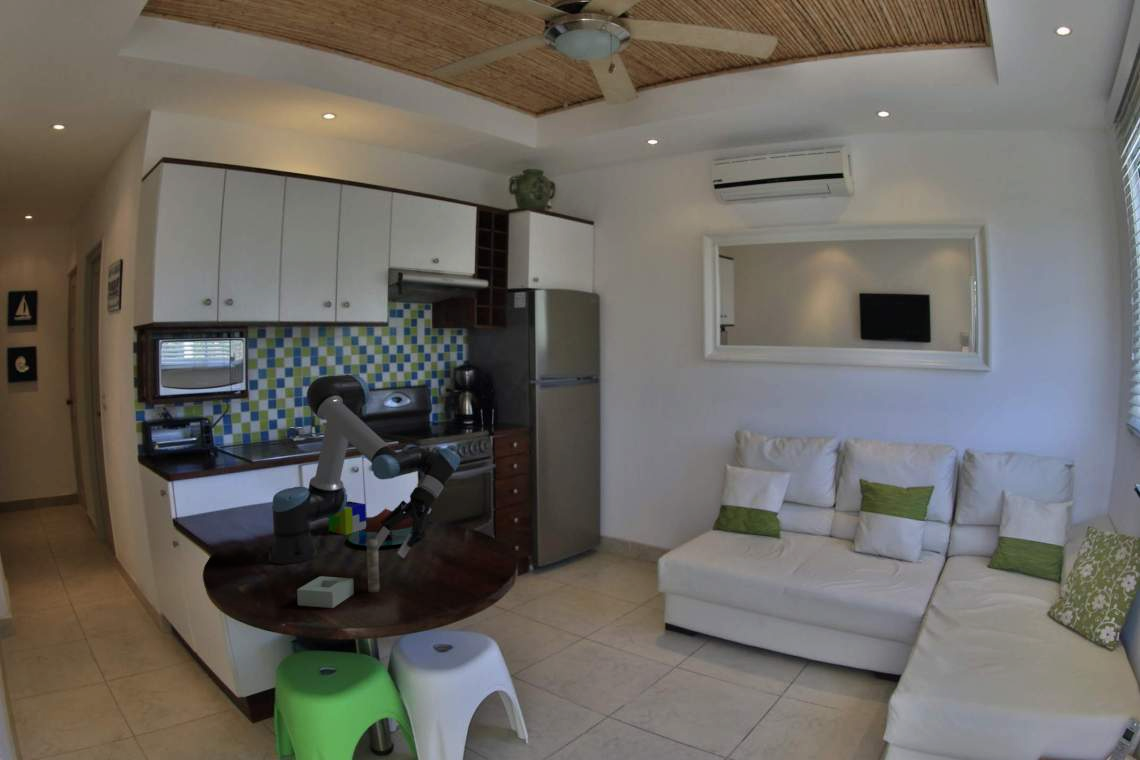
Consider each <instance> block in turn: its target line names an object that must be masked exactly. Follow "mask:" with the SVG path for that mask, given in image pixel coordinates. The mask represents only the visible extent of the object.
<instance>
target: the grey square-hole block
mask: <svg viewBox="0 0 1140 760" xmlns="http://www.w3.org/2000/svg"><path fill="white" fill-rule="evenodd" d="M354 584H355V583H354V578H349V577H335V576H323V575H321V576H318V577H316V578H314V579H313V580H311V581H309V582H307V583H306V584H304V585H303V586H301V587H299V588H297V589H296V592H297V593H296V595H297V606H304V607H314V608H315V607H318V608H325V609H326V608H329V609H333V608H335V607H337V606H338V605H339V604H341V603H342V602H344V601H345V600H347V599H348V598H349V597H351V596H353V595H354V594H355V590H354V589H355V587H354V586H355V585H354Z"/></svg>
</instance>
